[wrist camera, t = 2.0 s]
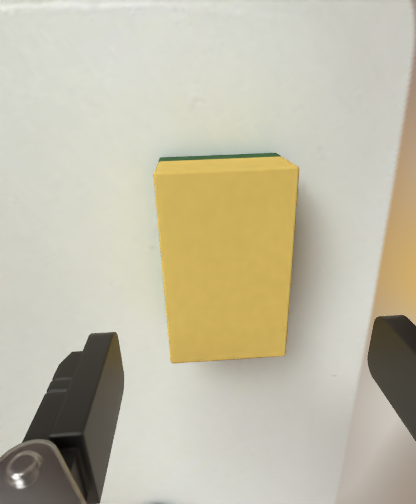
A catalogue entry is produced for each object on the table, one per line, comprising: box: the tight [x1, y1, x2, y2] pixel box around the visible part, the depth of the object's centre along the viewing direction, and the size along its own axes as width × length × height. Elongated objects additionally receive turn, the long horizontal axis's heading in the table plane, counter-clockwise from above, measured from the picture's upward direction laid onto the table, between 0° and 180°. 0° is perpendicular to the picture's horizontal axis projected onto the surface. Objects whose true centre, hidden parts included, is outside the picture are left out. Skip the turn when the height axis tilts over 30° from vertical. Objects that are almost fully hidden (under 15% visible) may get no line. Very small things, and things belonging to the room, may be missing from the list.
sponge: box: [154, 153, 299, 363], centre depth 17 cm, size 9×6×4 cm, turn 2°
